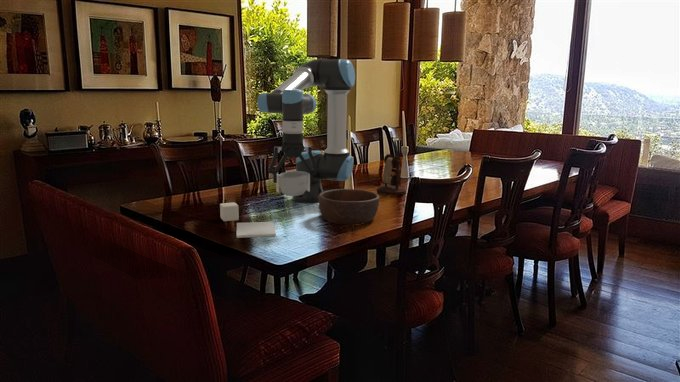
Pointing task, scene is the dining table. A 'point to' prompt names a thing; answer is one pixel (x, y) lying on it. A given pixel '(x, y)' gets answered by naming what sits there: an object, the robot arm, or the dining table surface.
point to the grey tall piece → (391, 176)
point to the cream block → (229, 211)
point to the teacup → (293, 182)
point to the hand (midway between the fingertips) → (293, 191)
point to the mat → (255, 229)
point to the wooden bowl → (348, 206)
